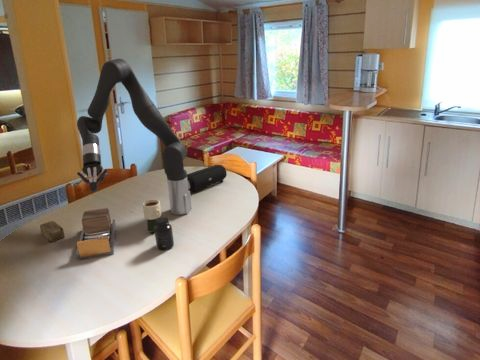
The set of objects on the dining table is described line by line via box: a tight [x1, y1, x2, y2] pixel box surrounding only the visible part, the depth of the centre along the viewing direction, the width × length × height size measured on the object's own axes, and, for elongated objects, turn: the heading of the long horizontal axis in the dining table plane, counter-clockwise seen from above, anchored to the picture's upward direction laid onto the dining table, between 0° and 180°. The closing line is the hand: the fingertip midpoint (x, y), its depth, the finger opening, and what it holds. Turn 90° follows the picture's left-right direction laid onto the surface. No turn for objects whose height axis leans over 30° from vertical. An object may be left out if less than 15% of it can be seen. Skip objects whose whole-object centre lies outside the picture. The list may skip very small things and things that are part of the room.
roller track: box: [75, 219, 117, 261], centre depth 141 cm, size 24×13×7 cm, turn 16°
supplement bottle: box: [153, 216, 175, 251], centre depth 135 cm, size 7×7×12 cm
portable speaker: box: [187, 164, 228, 193], centre depth 191 cm, size 26×10×10 cm, turn 134°
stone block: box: [39, 220, 65, 242], centre depth 146 cm, size 6×12×5 cm, turn 48°
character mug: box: [142, 198, 162, 233], centre depth 147 cm, size 11×7×13 cm, turn 47°
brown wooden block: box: [81, 207, 112, 234], centre depth 145 cm, size 8×10×7 cm
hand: (94, 191), depth 149 cm, fingers closed
